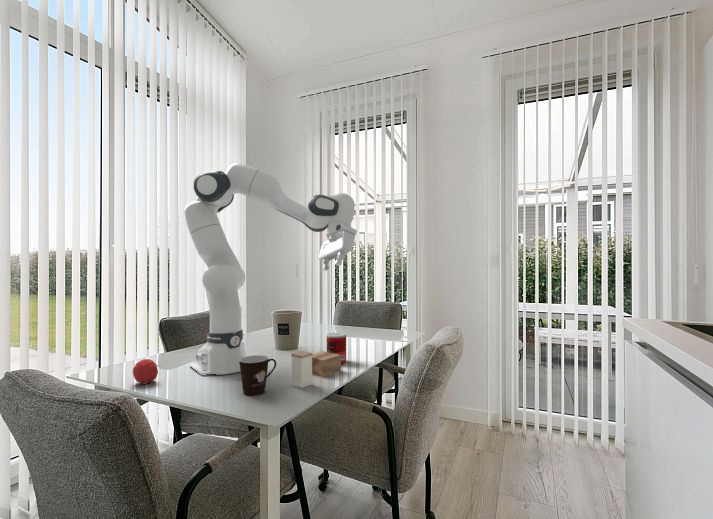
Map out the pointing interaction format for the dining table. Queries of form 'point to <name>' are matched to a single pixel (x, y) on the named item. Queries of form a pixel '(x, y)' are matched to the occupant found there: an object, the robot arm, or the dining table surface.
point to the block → (325, 363)
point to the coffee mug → (254, 374)
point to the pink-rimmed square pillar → (301, 369)
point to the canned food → (337, 345)
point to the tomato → (145, 371)
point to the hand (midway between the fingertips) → (331, 267)
